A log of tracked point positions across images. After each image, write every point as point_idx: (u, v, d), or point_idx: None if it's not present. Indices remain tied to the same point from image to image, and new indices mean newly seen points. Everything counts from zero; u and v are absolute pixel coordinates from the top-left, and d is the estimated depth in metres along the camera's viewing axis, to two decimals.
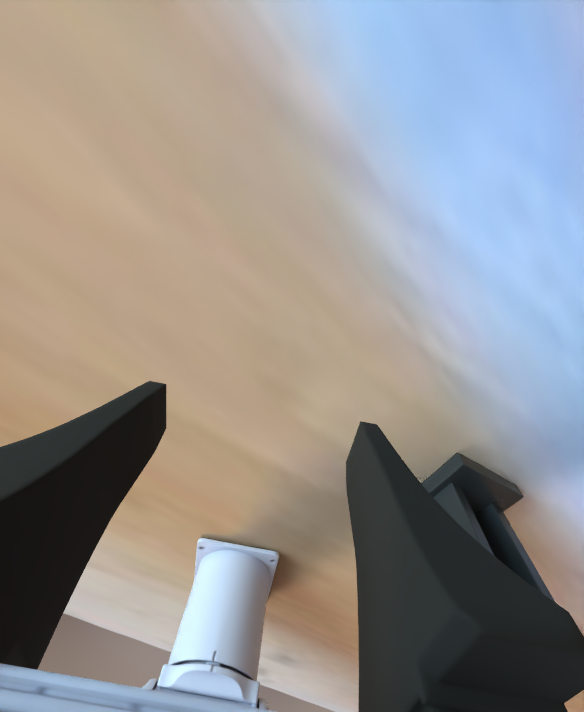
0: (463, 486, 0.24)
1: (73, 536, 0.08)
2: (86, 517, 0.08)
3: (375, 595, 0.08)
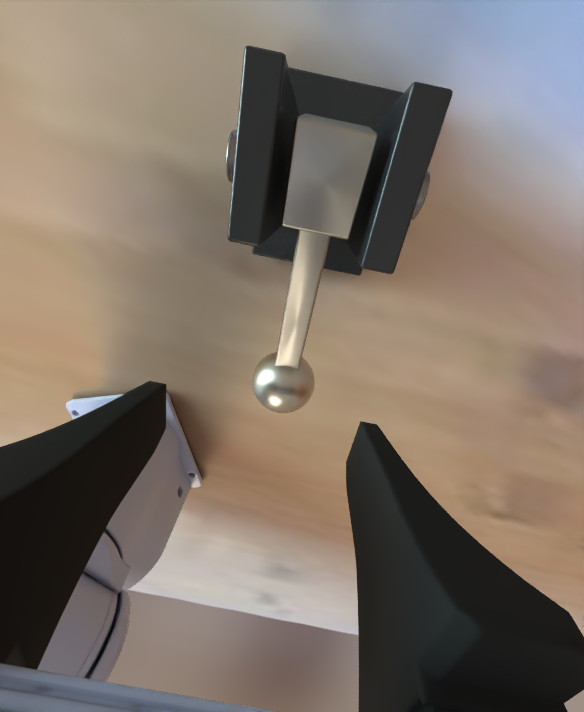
0: None
1: (73, 536, 0.08)
2: (86, 517, 0.08)
3: (375, 595, 0.08)
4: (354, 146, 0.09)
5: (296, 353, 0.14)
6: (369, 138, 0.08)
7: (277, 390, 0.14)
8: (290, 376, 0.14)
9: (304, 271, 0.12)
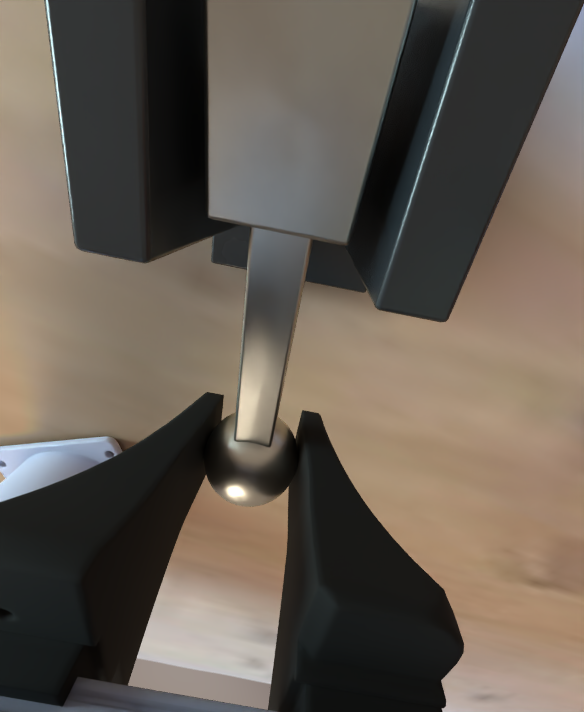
0: None
1: (158, 552, 0.08)
2: (167, 532, 0.08)
3: (290, 579, 0.08)
4: (360, 5, 0.03)
5: (265, 425, 0.09)
6: None
7: (237, 481, 0.09)
8: (257, 458, 0.09)
9: (267, 302, 0.06)
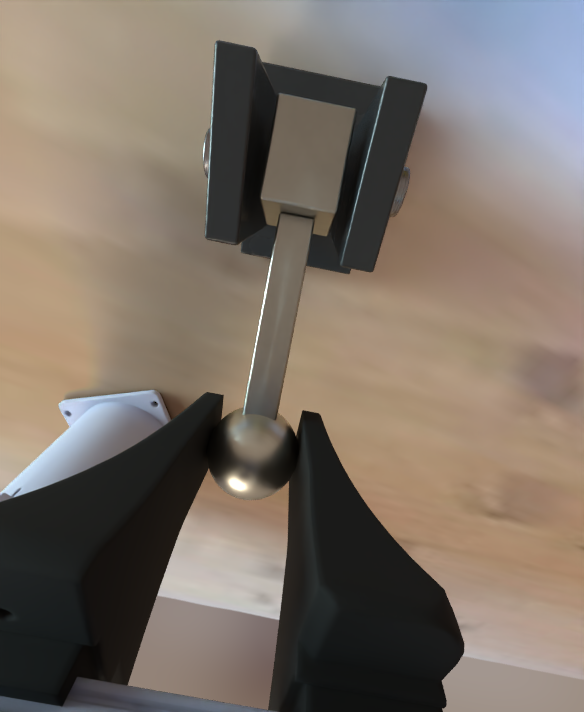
0: None
1: (158, 552, 0.08)
2: (167, 532, 0.08)
3: (290, 579, 0.08)
4: (335, 117, 0.09)
5: (273, 390, 0.10)
6: (348, 112, 0.09)
7: (245, 446, 0.09)
8: (264, 426, 0.10)
9: (284, 268, 0.10)
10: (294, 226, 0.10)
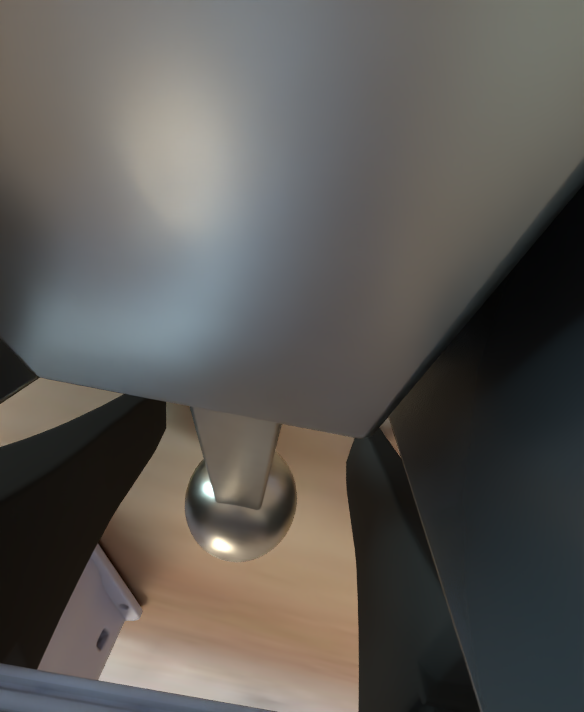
0: None
1: (73, 536, 0.08)
2: (86, 517, 0.08)
3: (375, 595, 0.08)
4: None
5: (250, 499, 0.07)
6: None
7: (220, 548, 0.08)
8: (244, 524, 0.07)
9: (227, 419, 0.04)
10: None
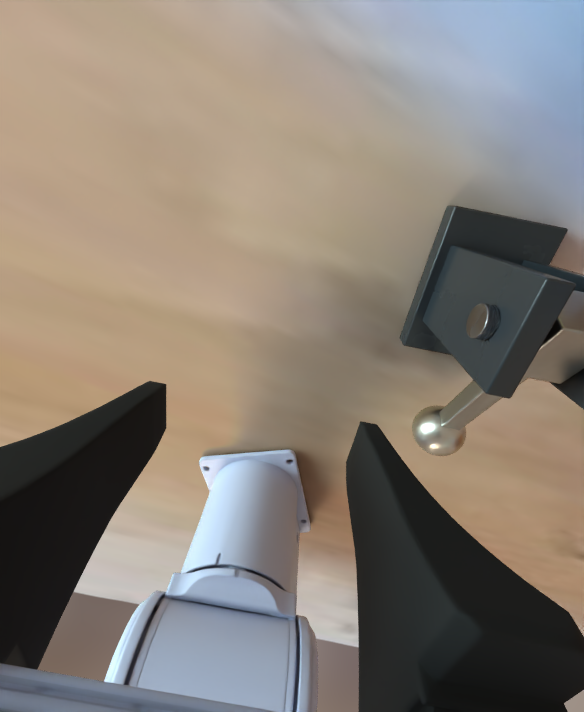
0: (471, 246, 0.17)
1: (73, 536, 0.08)
2: (86, 517, 0.08)
3: (375, 595, 0.08)
4: None
5: (464, 422, 0.18)
6: None
7: (443, 446, 0.18)
8: (454, 435, 0.18)
9: None
10: None
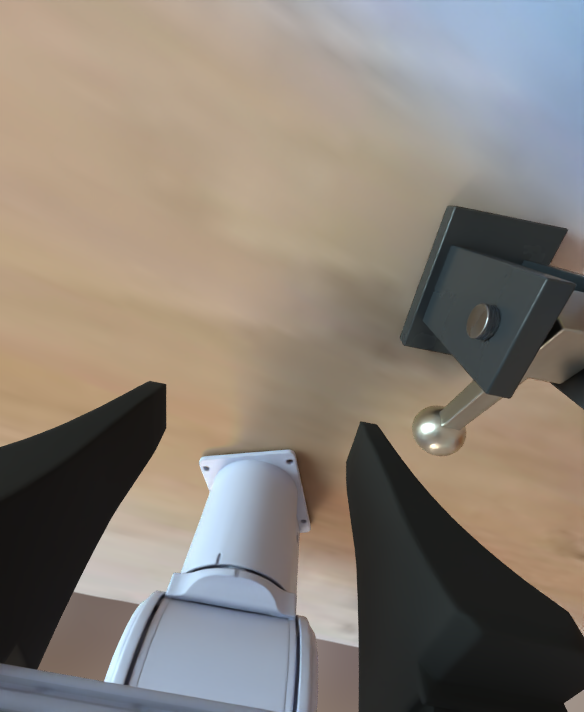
0: (471, 246, 0.17)
1: (73, 536, 0.08)
2: (86, 517, 0.08)
3: (375, 595, 0.08)
4: None
5: (465, 422, 0.18)
6: None
7: (443, 446, 0.18)
8: (454, 436, 0.18)
9: None
10: None
